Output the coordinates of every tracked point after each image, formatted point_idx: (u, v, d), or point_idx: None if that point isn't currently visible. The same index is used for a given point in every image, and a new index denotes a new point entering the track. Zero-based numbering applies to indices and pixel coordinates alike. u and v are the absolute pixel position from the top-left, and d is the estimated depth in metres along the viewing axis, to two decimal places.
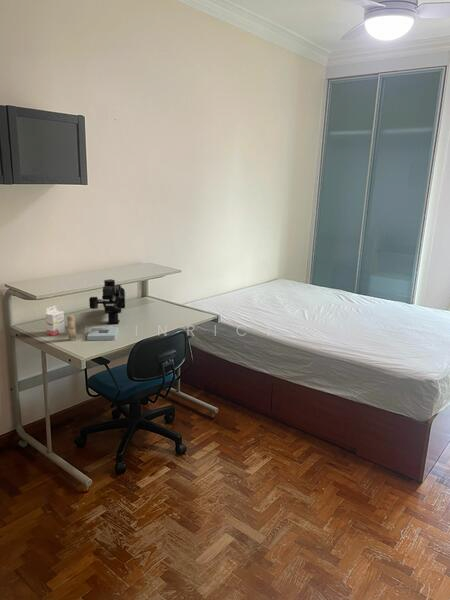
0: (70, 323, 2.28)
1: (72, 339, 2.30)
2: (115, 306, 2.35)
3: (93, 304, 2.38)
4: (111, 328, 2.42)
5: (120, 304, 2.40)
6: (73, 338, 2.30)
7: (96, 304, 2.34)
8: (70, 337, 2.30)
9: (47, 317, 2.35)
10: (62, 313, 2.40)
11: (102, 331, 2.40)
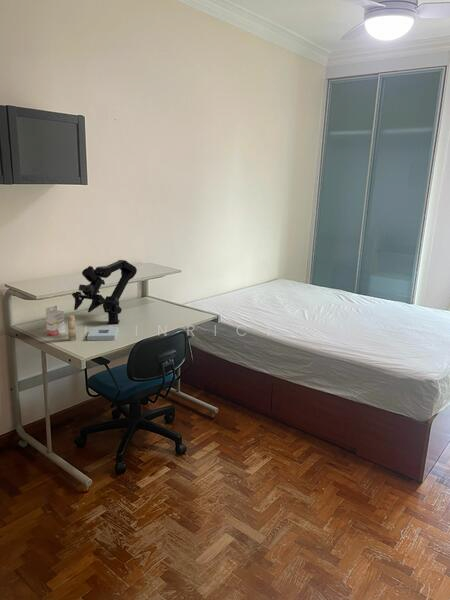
0: (70, 323, 2.28)
1: (72, 339, 2.30)
2: (90, 310, 2.34)
3: None
4: (111, 328, 2.42)
5: (98, 302, 2.36)
6: (73, 338, 2.30)
7: (75, 306, 2.37)
8: (70, 337, 2.30)
9: (47, 317, 2.35)
10: (62, 313, 2.40)
11: (102, 331, 2.40)
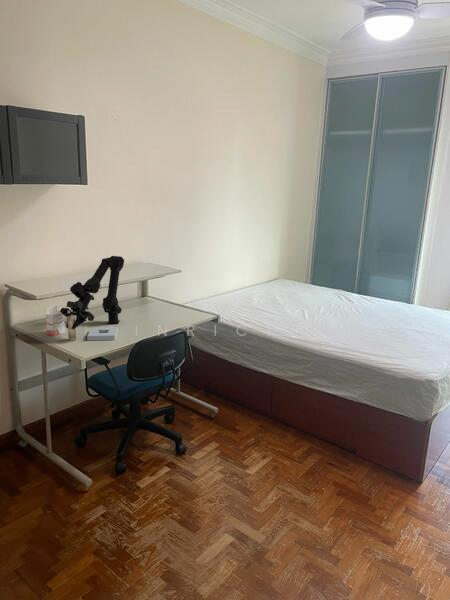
0: (70, 323, 2.28)
1: (72, 339, 2.30)
2: (75, 326, 2.29)
3: None
4: (111, 328, 2.42)
5: (82, 319, 2.30)
6: (73, 338, 2.30)
7: (67, 324, 2.30)
8: (70, 337, 2.30)
9: (47, 317, 2.35)
10: None
11: (102, 331, 2.40)
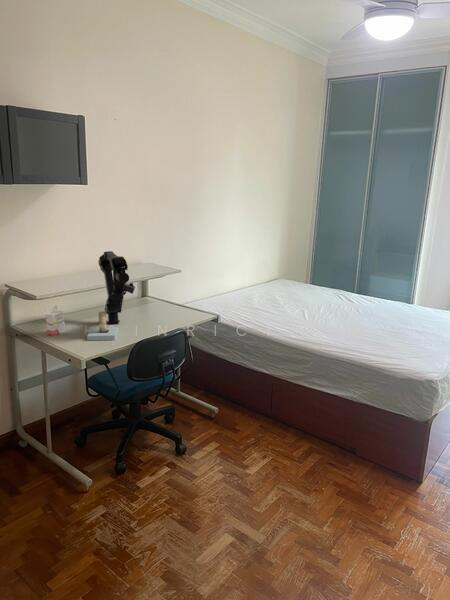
0: (103, 318, 2.34)
1: None
2: None
3: None
4: (111, 328, 2.42)
5: None
6: None
7: (120, 306, 2.40)
8: (103, 332, 2.36)
9: (47, 317, 2.35)
10: (62, 313, 2.40)
11: None
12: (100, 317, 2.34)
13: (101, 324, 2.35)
